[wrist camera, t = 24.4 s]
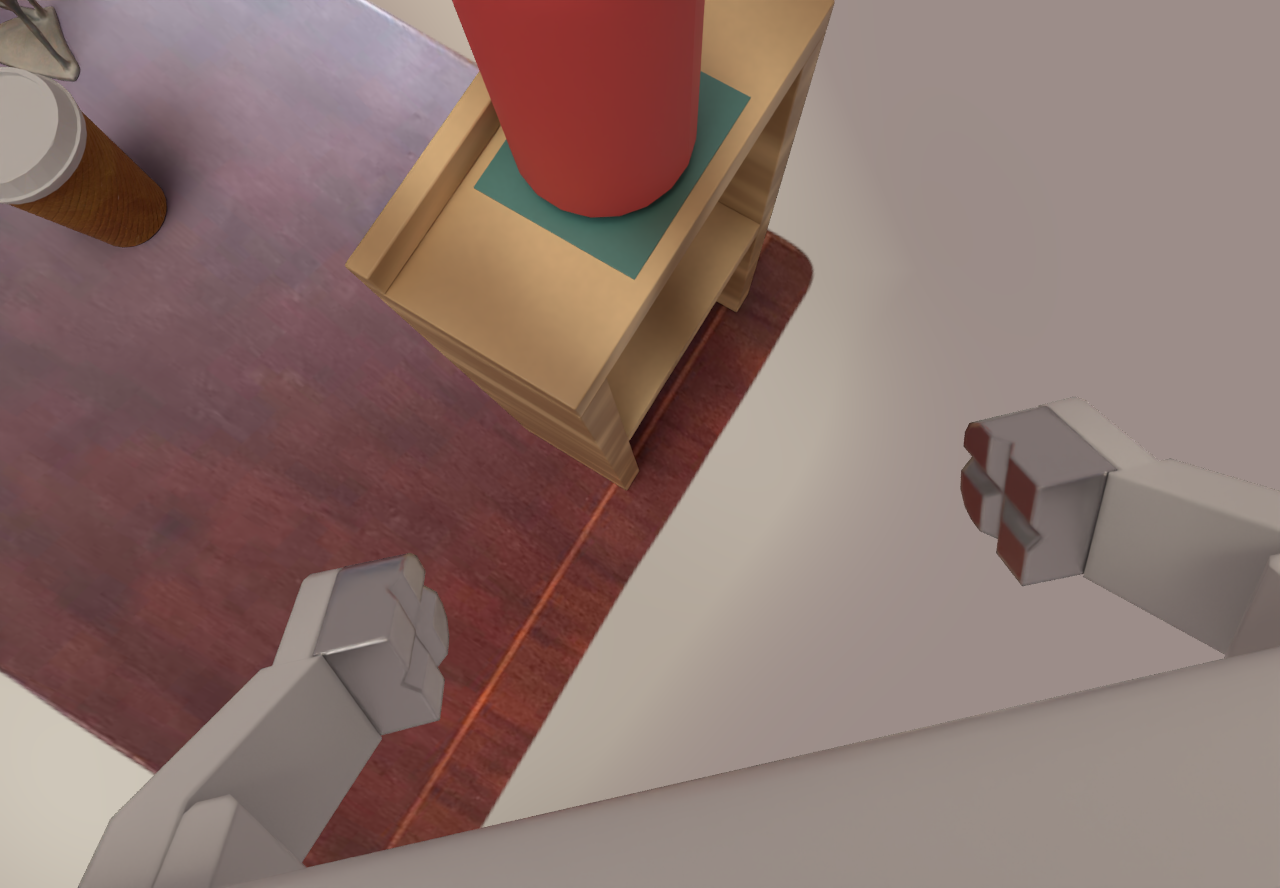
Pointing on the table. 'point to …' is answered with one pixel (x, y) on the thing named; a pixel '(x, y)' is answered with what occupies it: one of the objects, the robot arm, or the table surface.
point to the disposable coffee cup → (70, 165)
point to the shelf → (596, 244)
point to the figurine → (36, 42)
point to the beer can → (592, 94)
